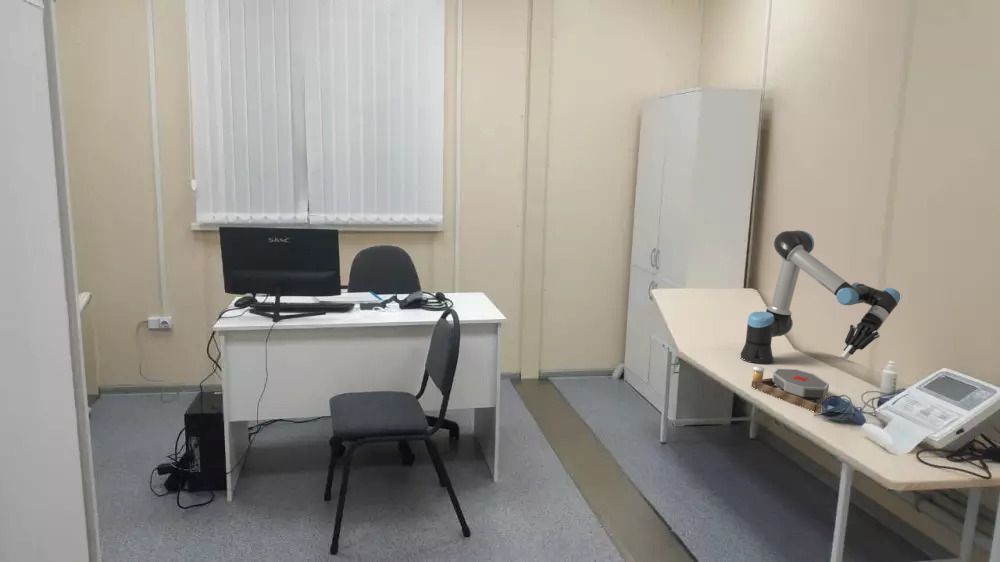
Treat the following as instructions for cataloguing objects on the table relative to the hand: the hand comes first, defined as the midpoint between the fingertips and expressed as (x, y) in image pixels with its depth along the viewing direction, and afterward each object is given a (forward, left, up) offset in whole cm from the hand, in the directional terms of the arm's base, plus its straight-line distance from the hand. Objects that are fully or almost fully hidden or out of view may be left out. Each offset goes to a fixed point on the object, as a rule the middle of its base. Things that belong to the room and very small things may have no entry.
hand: (843, 358), depth 278 cm
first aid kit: (-2, -24, -14) cm, 28 cm away
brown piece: (+1, -28, -14) cm, 32 cm away
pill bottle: (-19, -28, -14) cm, 37 cm away
